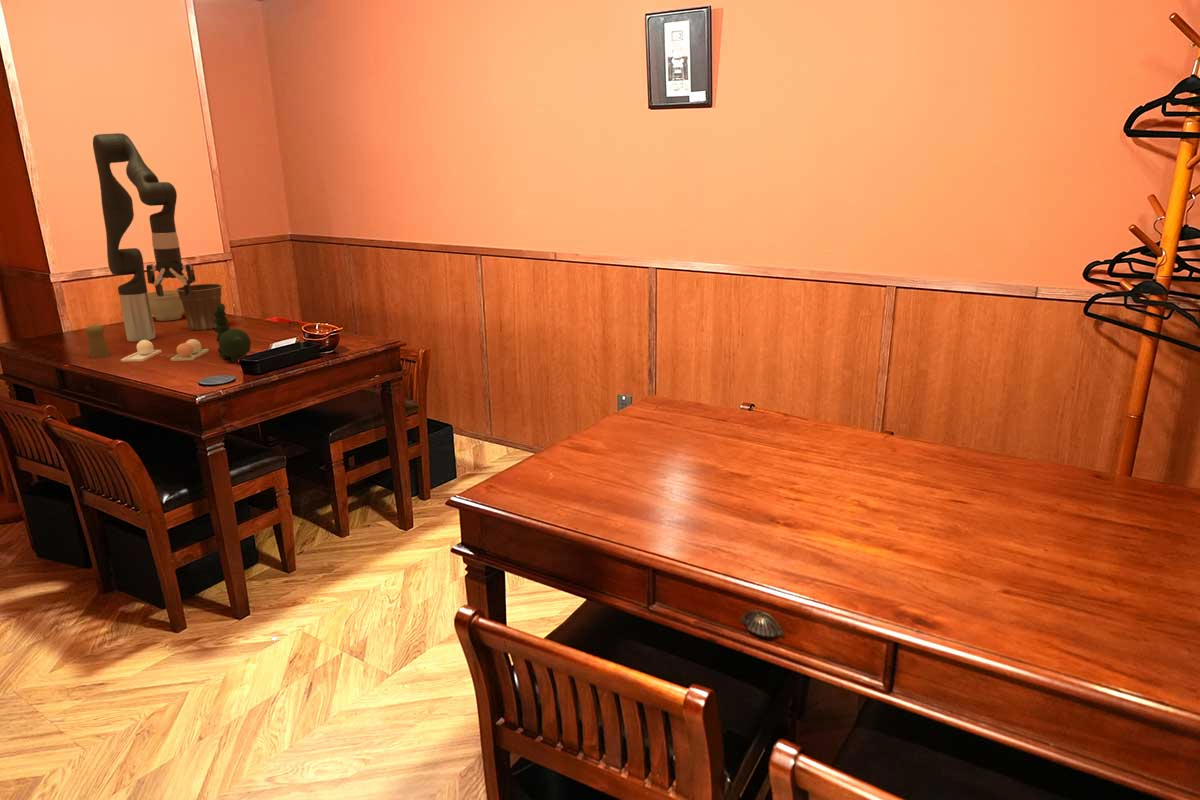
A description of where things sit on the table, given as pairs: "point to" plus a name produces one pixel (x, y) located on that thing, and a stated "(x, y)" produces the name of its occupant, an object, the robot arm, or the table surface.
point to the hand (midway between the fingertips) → (174, 296)
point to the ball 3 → (194, 345)
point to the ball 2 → (184, 350)
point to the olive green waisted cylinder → (96, 342)
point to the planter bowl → (166, 305)
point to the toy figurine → (230, 337)
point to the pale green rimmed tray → (192, 357)
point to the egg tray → (140, 356)
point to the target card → (167, 356)
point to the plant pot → (201, 305)
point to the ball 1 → (145, 347)
